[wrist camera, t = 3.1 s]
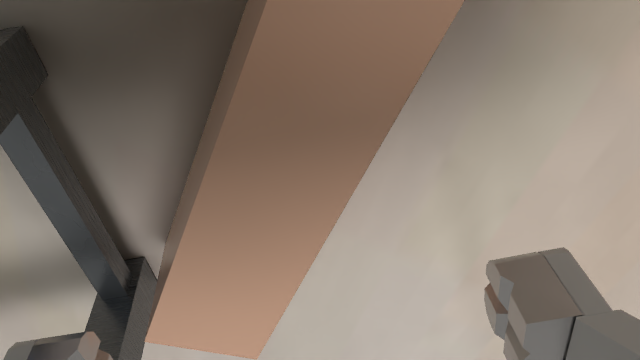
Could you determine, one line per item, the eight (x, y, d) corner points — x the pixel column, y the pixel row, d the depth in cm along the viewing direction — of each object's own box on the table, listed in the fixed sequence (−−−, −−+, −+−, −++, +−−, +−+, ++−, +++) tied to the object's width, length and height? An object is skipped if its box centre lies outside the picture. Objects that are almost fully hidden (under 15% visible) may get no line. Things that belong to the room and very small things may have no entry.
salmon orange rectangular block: (315, -204, 12) (342, -211, 8) (447, -130, 14) (526, -106, 10) (166, 239, 21) (144, 341, 17) (257, 259, 22) (256, 359, 18)
